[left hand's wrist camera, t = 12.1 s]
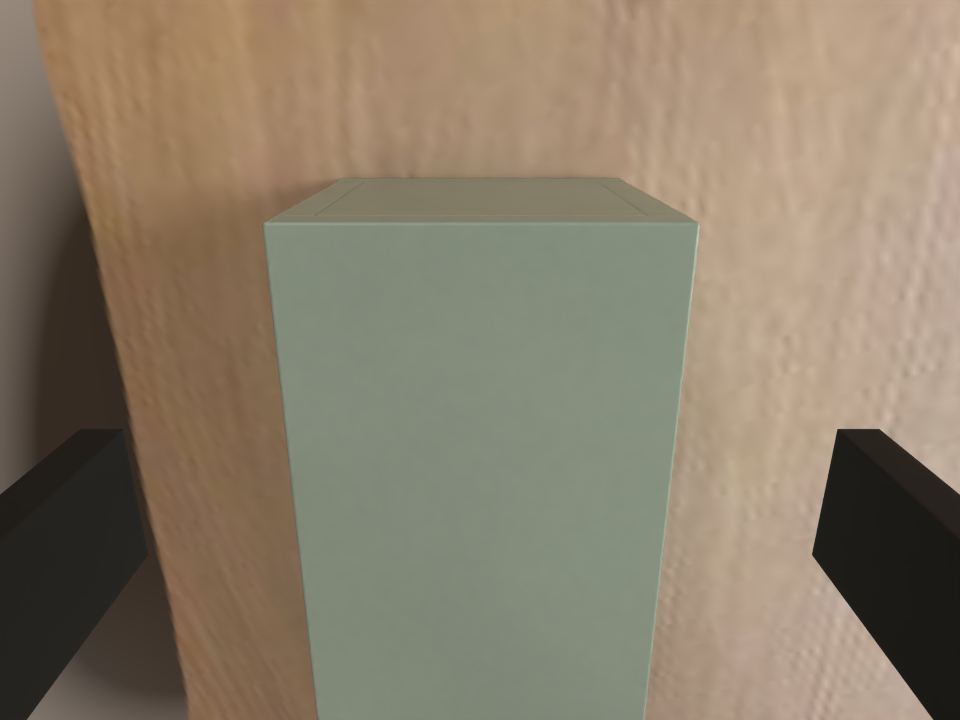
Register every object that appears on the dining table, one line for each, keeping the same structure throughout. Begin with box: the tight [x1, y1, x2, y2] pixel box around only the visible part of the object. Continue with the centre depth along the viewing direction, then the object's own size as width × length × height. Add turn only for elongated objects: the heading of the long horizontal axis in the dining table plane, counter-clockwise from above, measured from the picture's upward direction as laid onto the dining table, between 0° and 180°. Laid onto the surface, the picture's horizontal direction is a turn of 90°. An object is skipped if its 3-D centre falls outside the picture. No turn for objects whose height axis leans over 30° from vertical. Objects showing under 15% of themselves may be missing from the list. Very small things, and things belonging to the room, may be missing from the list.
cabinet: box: [262, 178, 700, 720], centre depth 24 cm, size 21×10×10 cm, turn 0°
